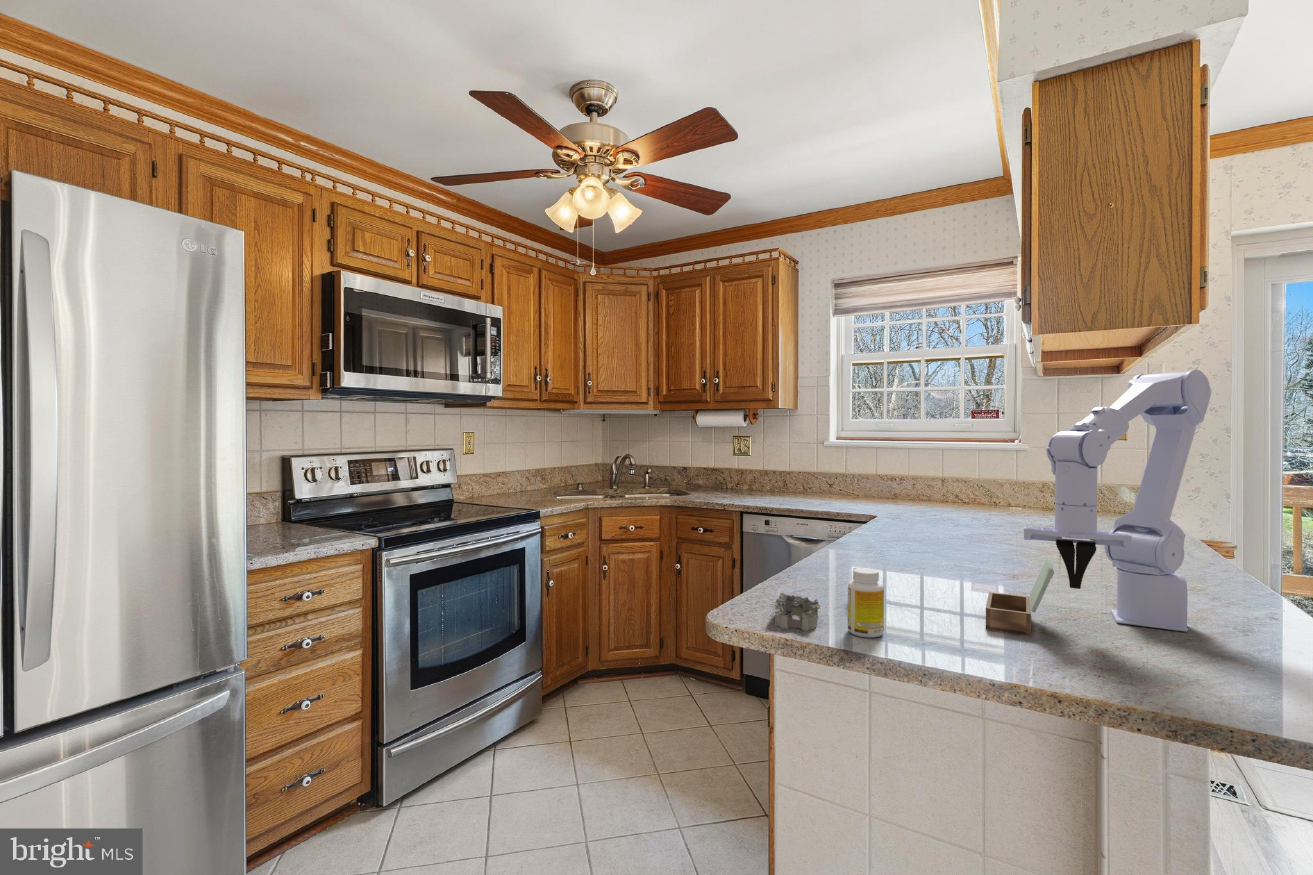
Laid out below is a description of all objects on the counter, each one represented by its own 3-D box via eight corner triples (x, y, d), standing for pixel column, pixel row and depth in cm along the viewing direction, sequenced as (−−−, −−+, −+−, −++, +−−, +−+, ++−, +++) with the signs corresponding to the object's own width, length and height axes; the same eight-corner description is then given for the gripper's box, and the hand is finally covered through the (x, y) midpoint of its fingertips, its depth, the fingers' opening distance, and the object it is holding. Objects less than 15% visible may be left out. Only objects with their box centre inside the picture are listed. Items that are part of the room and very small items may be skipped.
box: (1029, 616, 110) (1029, 596, 110) (1030, 636, 100) (1030, 613, 100) (988, 611, 113) (988, 591, 113) (985, 629, 103) (985, 608, 103)
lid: (1029, 593, 110) (1034, 595, 110) (1031, 611, 99) (1035, 613, 99) (1046, 557, 109) (1051, 558, 108) (1049, 570, 98) (1054, 572, 98)
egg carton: (815, 634, 102) (815, 609, 101) (769, 628, 104) (769, 604, 104) (822, 615, 112) (822, 592, 111) (780, 611, 114) (780, 588, 114)
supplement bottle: (891, 636, 99) (891, 573, 99) (862, 640, 97) (863, 575, 97) (868, 626, 105) (868, 565, 104) (840, 629, 103) (840, 568, 103)
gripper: (1024, 504, 102) (1023, 586, 102) (1135, 509, 94) (1134, 598, 94) (1024, 499, 108) (1023, 577, 108) (1128, 505, 100) (1127, 588, 100)
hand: (1074, 587), depth 102 cm, fingers closed
